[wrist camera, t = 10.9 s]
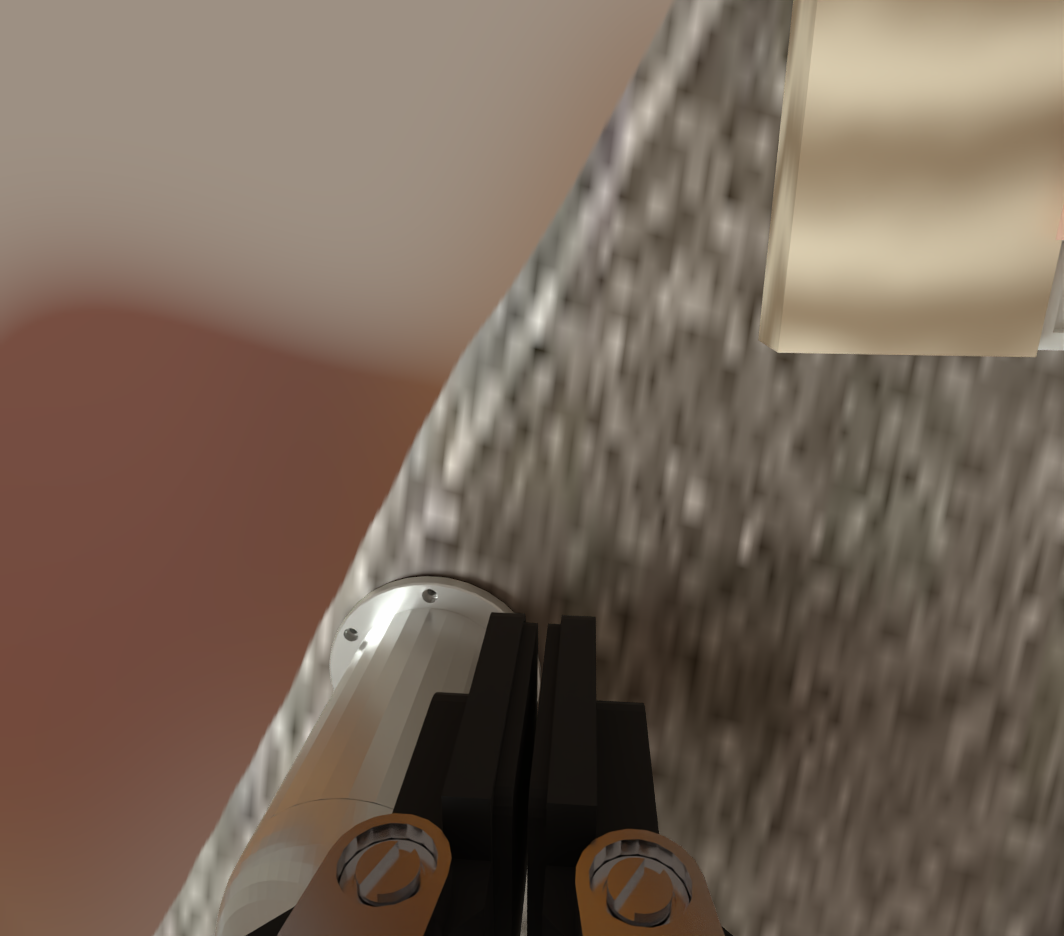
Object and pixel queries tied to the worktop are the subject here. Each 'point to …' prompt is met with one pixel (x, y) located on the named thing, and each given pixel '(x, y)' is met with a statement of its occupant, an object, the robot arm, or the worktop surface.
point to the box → (1055, 311)
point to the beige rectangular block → (917, 178)
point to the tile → (1061, 227)
